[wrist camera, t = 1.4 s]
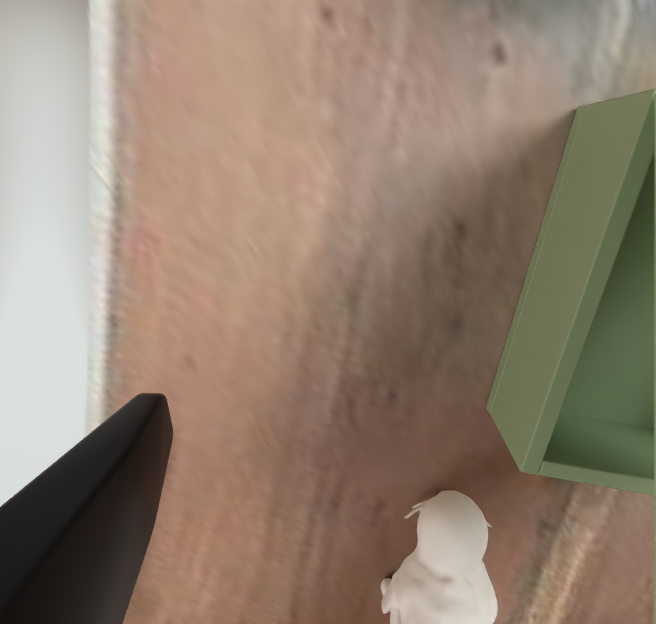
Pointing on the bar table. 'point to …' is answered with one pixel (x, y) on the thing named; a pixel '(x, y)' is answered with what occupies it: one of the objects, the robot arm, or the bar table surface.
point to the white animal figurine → (444, 567)
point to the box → (588, 312)
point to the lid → (655, 381)
